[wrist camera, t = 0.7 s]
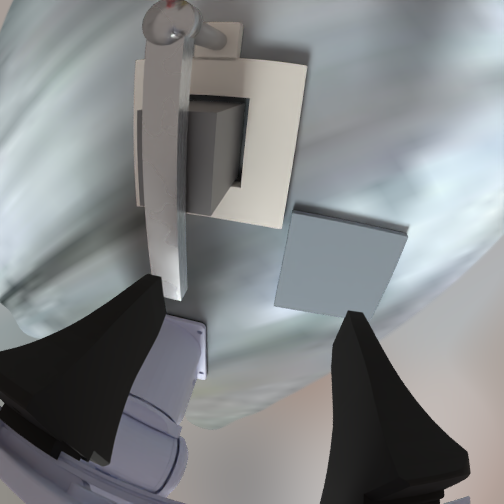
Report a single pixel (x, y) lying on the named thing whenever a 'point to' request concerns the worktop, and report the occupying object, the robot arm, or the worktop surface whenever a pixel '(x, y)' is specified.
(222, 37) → the socket plate
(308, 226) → the pad
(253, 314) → the worktop surface
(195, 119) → the plug
